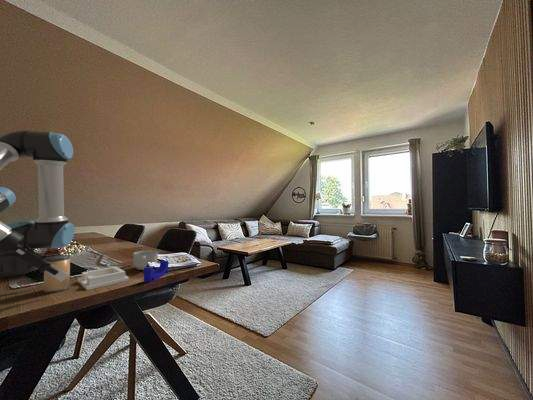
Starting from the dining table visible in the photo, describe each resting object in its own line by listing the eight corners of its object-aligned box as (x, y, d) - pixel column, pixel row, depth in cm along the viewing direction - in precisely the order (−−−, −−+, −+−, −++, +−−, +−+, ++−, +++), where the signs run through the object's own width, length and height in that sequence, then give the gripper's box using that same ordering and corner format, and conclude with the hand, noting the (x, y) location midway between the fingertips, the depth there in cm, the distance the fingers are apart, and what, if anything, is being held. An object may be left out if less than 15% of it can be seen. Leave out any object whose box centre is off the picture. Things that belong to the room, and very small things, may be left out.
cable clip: (159, 273, 104) (159, 260, 104) (168, 273, 103) (168, 260, 103) (140, 282, 92) (140, 267, 92) (150, 282, 92) (150, 268, 92)
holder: (77, 281, 92) (78, 272, 92) (117, 273, 102) (117, 265, 103) (86, 290, 83) (87, 280, 83) (128, 280, 94) (129, 271, 94)
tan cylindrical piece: (42, 290, 83) (43, 257, 83) (67, 284, 88) (68, 254, 88) (44, 295, 78) (45, 260, 78) (71, 289, 84) (71, 257, 84)
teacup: (138, 265, 116) (138, 250, 116) (160, 265, 118) (160, 249, 118) (126, 274, 102) (126, 256, 102) (151, 273, 104) (152, 255, 104)
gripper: (-12, 243, 79) (46, 276, 90) (-14, 253, 63) (57, 291, 74) (11, 226, 83) (64, 260, 94) (15, 232, 67) (78, 272, 78)
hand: (61, 274), depth 84 cm, fingers open, 13 cm apart
